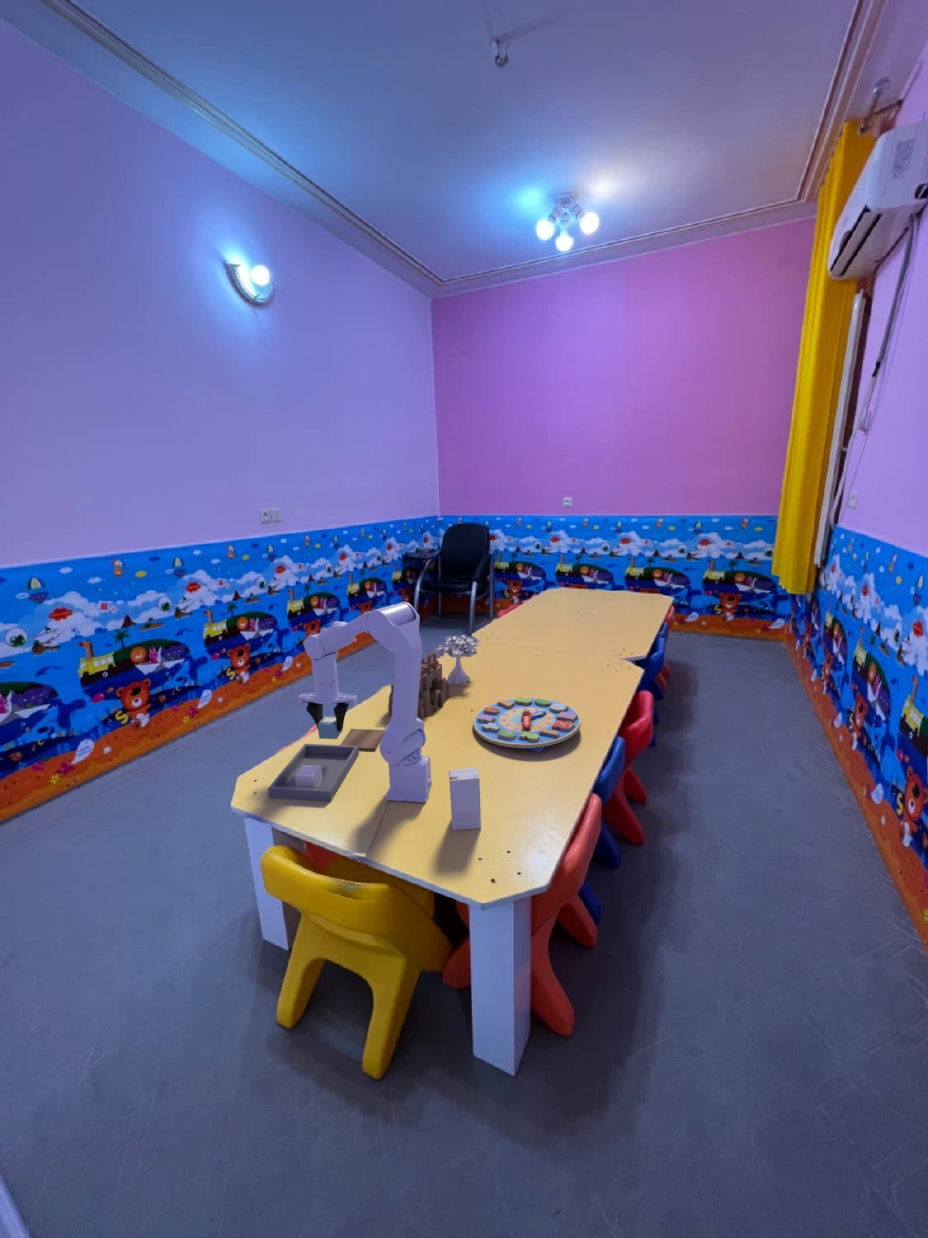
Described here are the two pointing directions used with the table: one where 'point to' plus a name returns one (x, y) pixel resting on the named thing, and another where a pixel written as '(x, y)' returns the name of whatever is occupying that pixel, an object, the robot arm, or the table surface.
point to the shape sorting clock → (527, 723)
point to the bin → (334, 772)
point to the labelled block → (328, 728)
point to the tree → (457, 655)
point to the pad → (363, 739)
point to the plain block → (309, 776)
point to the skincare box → (465, 798)
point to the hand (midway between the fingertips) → (330, 729)
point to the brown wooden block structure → (428, 688)
